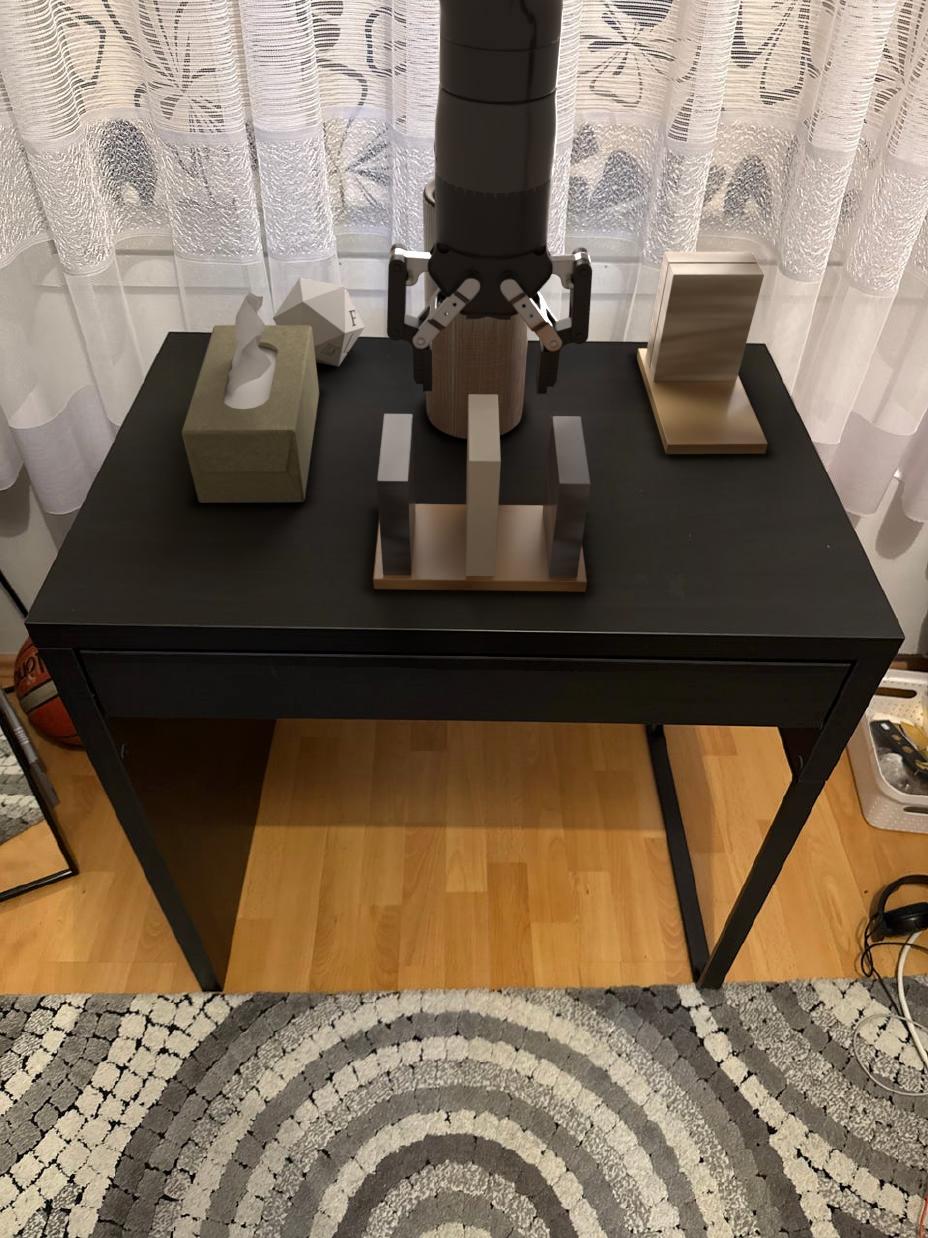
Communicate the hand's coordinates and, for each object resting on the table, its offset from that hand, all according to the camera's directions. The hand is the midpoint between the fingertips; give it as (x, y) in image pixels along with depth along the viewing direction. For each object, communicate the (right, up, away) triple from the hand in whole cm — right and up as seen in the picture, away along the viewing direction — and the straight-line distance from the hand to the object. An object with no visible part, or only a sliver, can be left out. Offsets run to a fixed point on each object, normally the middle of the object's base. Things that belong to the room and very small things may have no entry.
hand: (484, 386), depth 70 cm
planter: (0, +4, +27) cm, 27 cm away
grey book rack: (0, -11, +12) cm, 17 cm away
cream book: (0, -11, +11) cm, 16 cm away
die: (-17, +12, +34) cm, 40 cm away
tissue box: (-22, 0, +23) cm, 31 cm away
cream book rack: (+23, +6, +29) cm, 37 cm away
